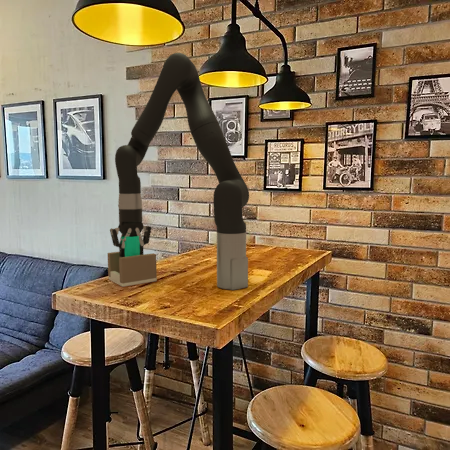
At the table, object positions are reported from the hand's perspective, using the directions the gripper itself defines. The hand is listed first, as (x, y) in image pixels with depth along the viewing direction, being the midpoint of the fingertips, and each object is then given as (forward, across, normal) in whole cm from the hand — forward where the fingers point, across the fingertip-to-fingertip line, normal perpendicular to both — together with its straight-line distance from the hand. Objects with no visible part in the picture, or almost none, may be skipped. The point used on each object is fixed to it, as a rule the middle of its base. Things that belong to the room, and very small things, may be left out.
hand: (131, 257), depth 138 cm
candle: (+3, 0, 0) cm, 3 cm away
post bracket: (+8, 0, 0) cm, 8 cm away
